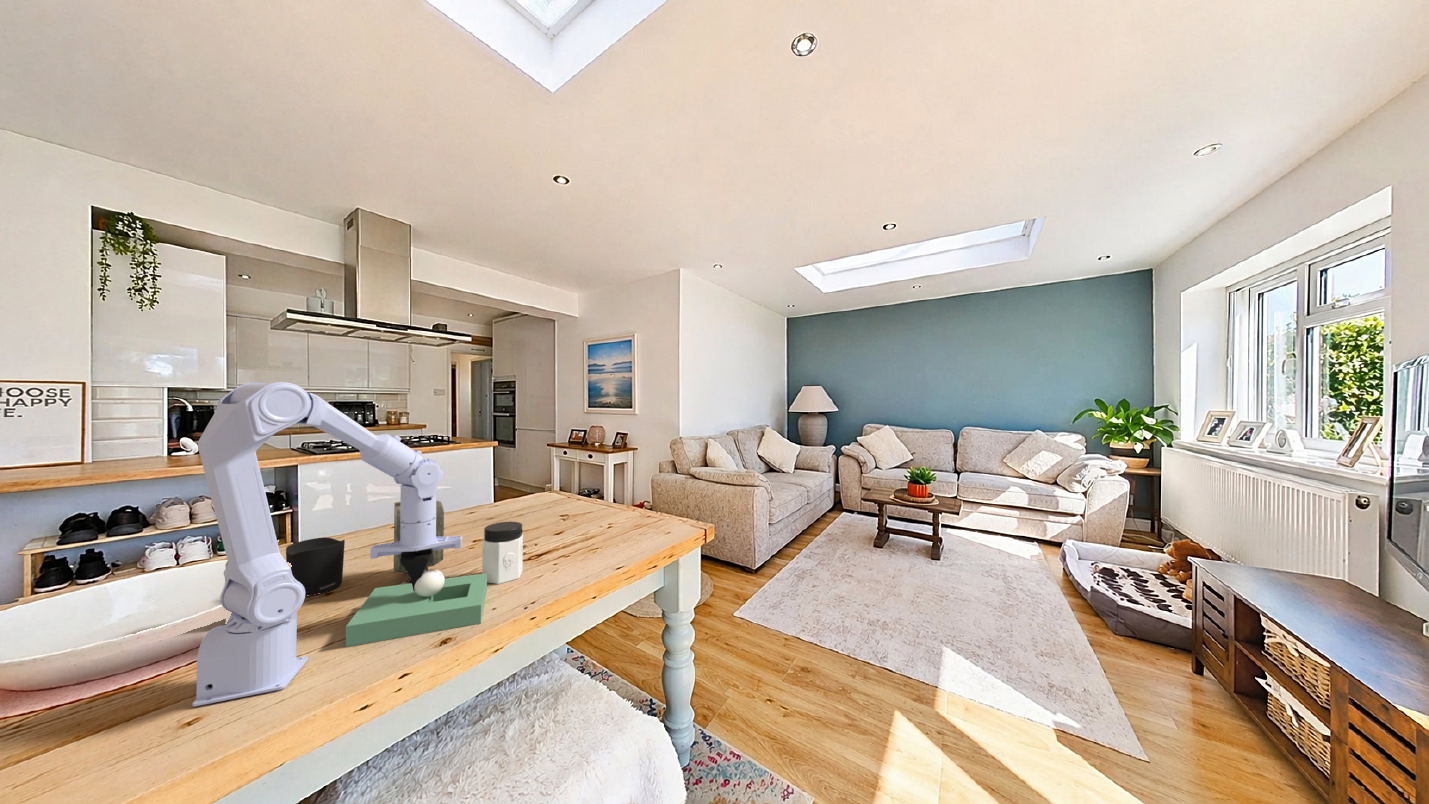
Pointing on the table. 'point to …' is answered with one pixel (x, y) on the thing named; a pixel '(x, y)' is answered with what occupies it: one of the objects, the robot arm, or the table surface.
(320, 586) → the pen holder
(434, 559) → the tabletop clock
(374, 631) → the putting box
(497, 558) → the jar
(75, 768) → the table surface
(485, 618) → the table surface
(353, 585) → the table surface
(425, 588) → the white egg
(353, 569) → the table surface
